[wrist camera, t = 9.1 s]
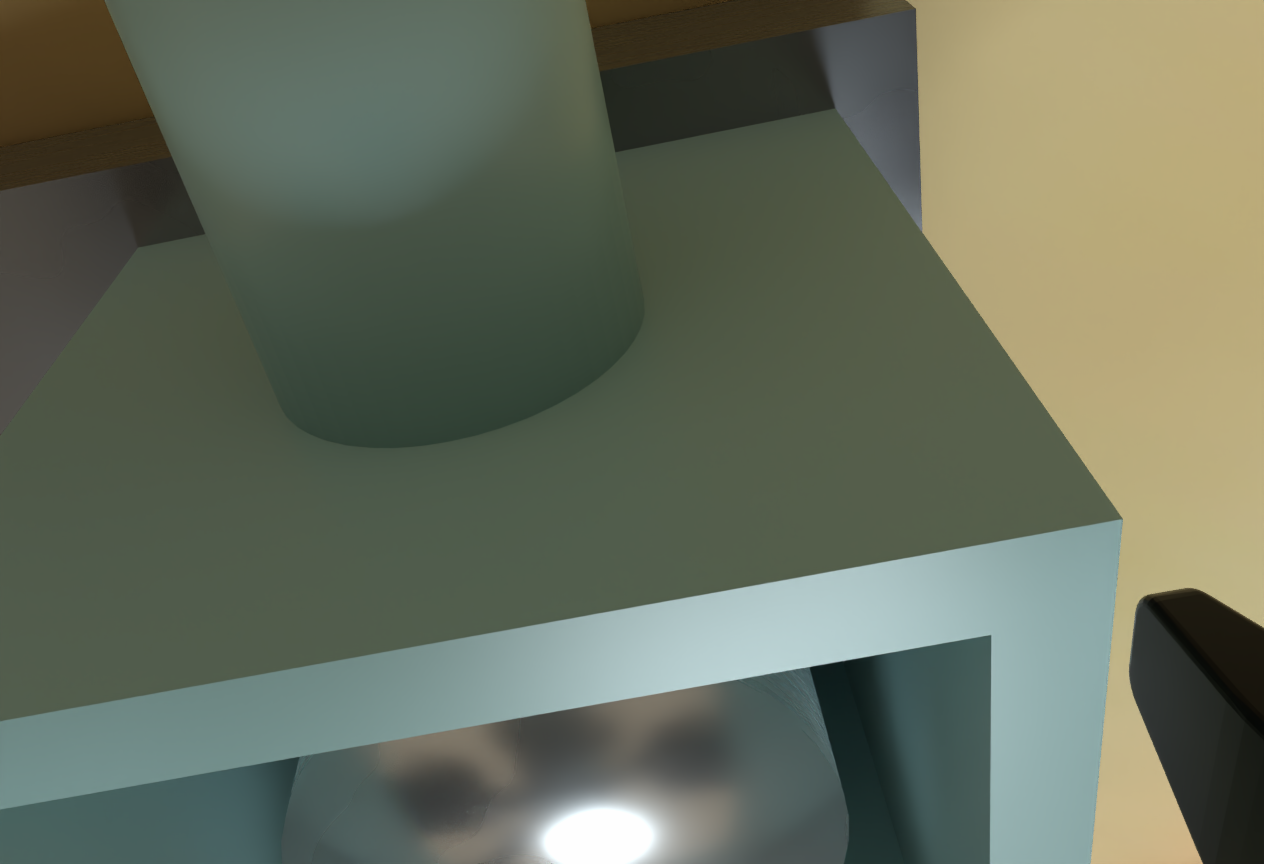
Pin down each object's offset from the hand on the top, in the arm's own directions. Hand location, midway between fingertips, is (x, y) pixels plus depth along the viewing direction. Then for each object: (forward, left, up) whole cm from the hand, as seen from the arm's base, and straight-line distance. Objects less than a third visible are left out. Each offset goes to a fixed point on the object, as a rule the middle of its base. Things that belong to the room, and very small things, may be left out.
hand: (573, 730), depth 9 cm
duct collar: (+2, 0, -4) cm, 4 cm away
